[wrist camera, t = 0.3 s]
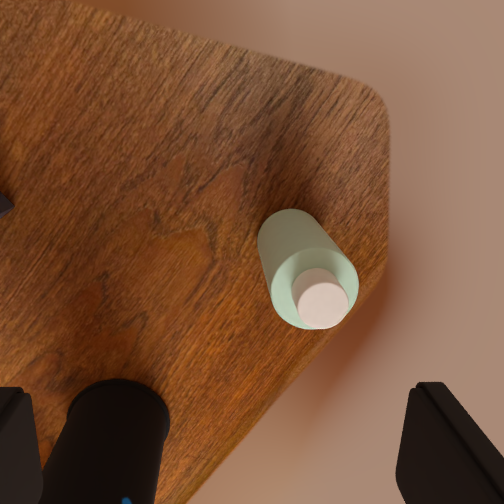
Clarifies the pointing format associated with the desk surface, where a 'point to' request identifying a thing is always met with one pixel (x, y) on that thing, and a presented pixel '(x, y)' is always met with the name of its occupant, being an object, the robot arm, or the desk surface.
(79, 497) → the aerosol can
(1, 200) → the hole block
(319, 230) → the bottle
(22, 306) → the desk surface
